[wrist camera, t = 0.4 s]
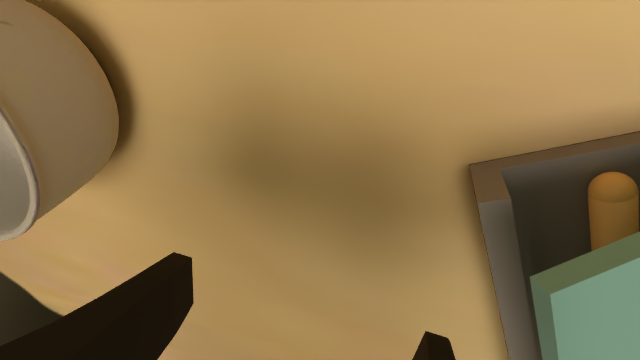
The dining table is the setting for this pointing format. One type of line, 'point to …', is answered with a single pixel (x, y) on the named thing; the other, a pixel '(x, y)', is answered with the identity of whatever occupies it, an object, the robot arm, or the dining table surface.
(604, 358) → the lid
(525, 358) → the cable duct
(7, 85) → the teacup
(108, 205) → the dining table surface
